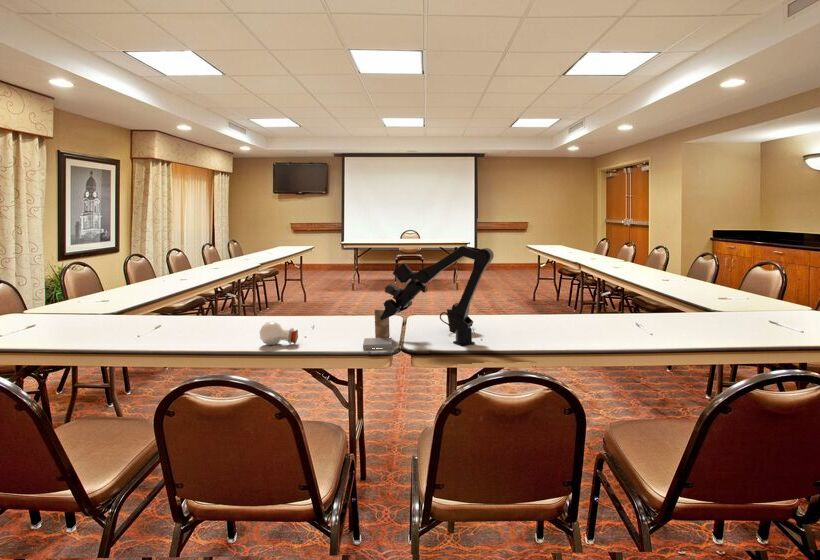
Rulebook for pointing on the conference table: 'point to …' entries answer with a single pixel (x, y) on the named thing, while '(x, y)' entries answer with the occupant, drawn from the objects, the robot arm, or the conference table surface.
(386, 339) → the slate slab
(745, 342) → the conference table surface
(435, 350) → the conference table surface
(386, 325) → the walnut block
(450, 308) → the coffee mug
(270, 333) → the potion bottle
